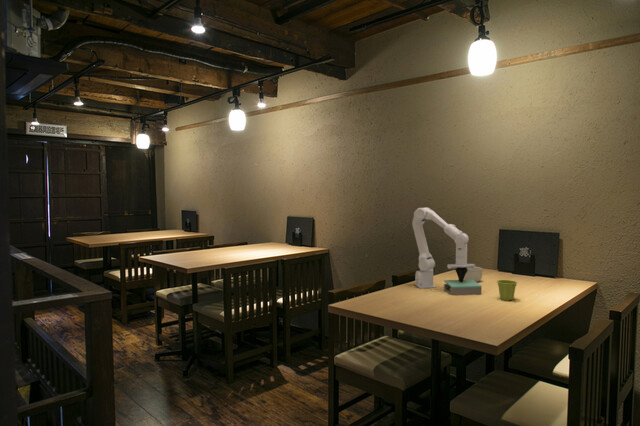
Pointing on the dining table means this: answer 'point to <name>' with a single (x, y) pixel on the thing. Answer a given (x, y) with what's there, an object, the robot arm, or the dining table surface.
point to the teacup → (474, 274)
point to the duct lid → (462, 284)
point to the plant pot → (506, 289)
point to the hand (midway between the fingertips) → (460, 281)
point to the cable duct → (462, 290)
